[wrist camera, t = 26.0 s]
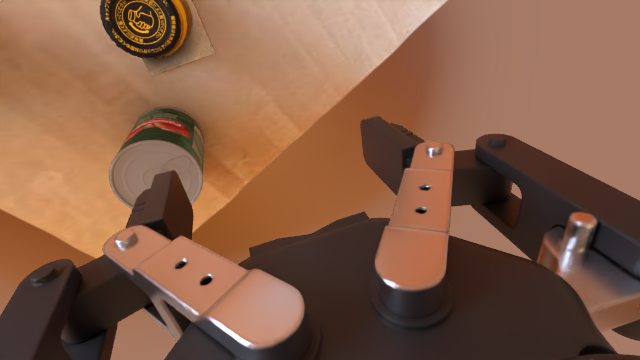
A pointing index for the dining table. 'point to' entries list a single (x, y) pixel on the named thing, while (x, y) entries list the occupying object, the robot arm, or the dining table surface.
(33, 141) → the dining table surface
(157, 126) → the canned tomato
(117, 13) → the condiment
